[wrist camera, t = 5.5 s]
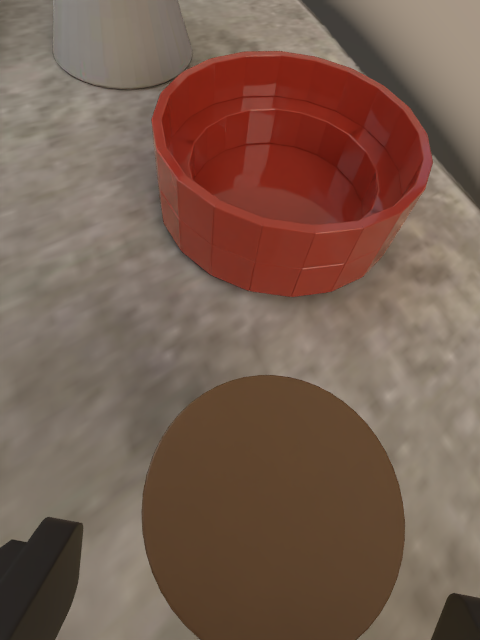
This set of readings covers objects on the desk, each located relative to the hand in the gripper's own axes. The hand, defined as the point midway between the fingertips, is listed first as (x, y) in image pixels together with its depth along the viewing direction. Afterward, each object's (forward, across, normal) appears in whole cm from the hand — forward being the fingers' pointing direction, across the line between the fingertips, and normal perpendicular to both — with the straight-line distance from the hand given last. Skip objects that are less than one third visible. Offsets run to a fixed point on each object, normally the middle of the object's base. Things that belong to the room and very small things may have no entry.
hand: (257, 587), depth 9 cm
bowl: (+19, 0, -8) cm, 21 cm away
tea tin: (+6, 0, +4) cm, 8 cm away
